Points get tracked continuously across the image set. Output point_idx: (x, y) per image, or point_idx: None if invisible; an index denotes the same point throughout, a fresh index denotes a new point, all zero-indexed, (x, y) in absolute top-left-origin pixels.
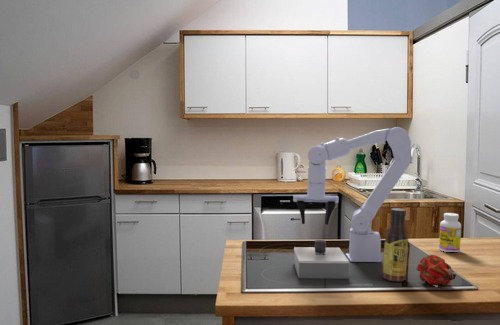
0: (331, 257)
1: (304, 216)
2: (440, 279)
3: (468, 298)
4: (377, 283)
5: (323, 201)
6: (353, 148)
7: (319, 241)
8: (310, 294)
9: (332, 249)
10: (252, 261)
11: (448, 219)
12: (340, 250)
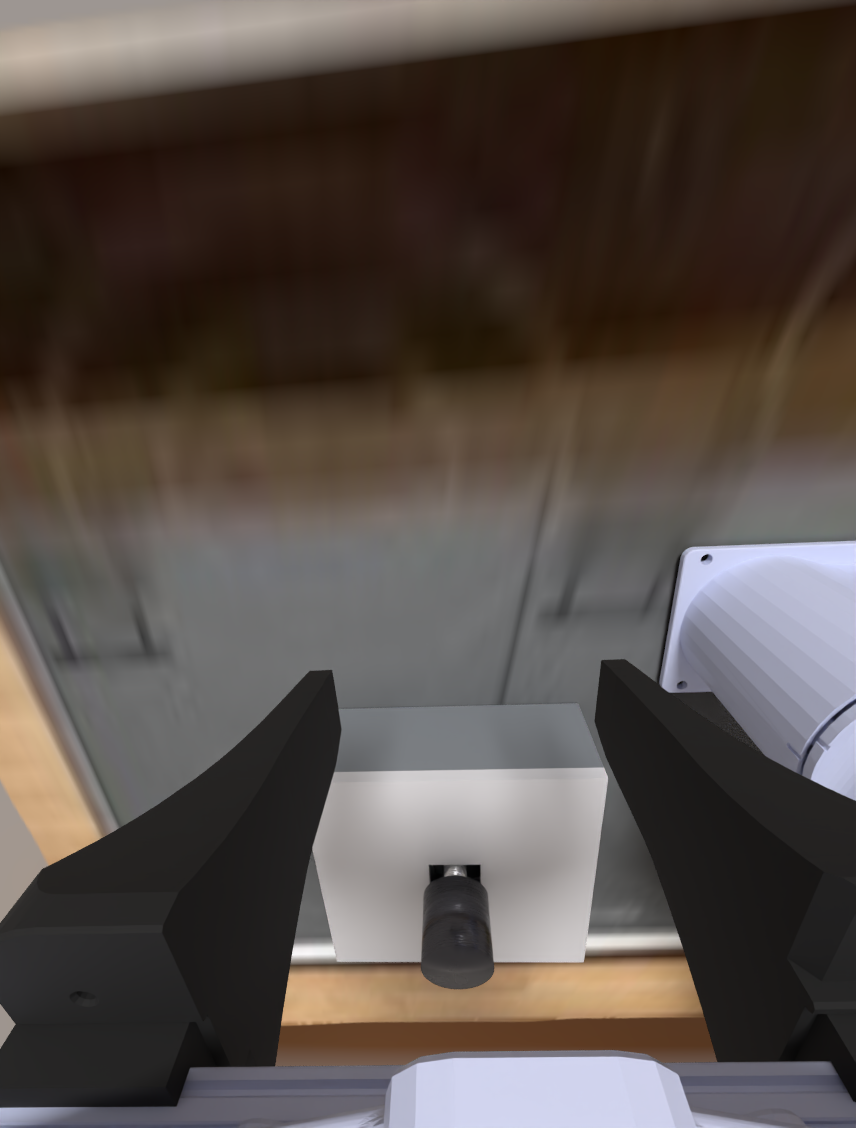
0: (507, 923)
1: (315, 829)
2: None
3: None
4: (665, 907)
5: (710, 1107)
6: None
7: (450, 969)
8: (392, 976)
9: (549, 813)
10: (93, 694)
11: None
12: (596, 828)
